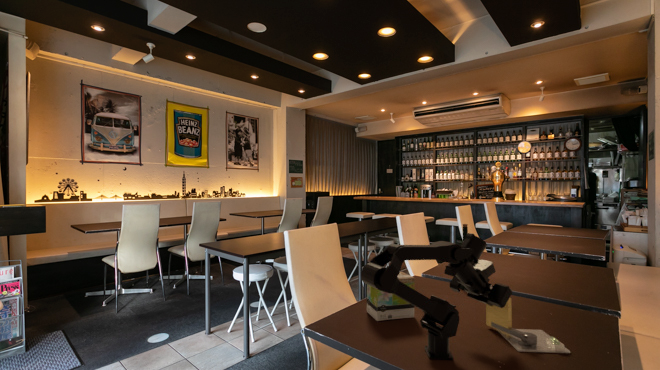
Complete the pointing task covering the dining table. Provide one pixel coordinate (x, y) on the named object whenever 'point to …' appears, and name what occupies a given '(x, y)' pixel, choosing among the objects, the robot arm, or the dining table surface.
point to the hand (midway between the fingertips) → (492, 304)
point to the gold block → (507, 322)
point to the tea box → (390, 302)
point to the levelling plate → (543, 342)
